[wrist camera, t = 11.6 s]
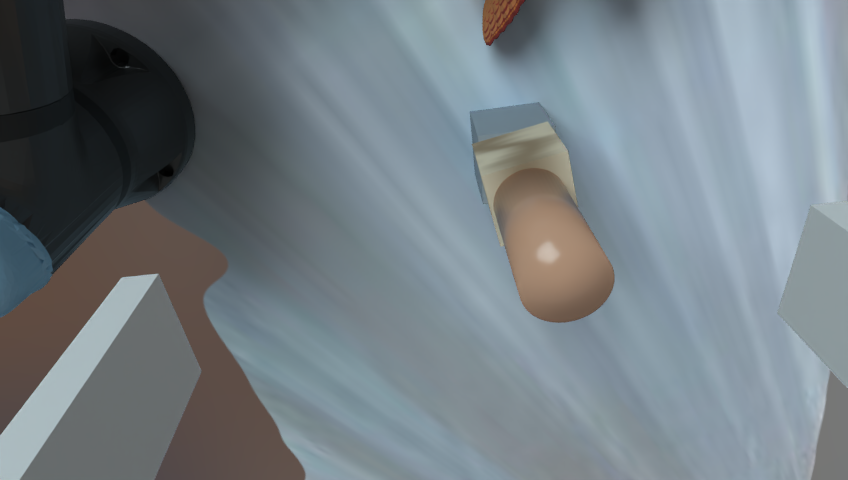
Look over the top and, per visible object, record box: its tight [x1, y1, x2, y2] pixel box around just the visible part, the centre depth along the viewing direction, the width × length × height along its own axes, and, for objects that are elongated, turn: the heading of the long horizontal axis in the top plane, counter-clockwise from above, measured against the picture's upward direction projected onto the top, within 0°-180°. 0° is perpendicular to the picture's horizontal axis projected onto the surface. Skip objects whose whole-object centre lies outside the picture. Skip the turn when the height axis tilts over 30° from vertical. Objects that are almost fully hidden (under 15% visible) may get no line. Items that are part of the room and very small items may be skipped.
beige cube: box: [472, 121, 578, 247], centre depth 40 cm, size 6×6×6 cm
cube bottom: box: [470, 102, 555, 204], centre depth 46 cm, size 6×6×6 cm
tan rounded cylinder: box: [493, 168, 614, 323], centre depth 34 cm, size 5×5×10 cm
